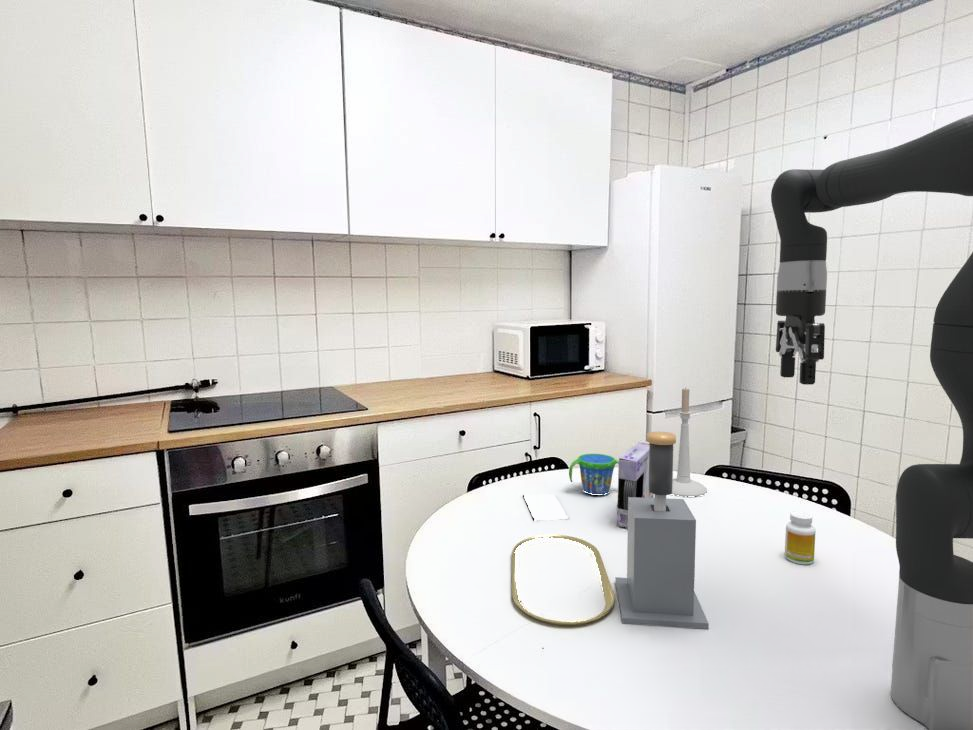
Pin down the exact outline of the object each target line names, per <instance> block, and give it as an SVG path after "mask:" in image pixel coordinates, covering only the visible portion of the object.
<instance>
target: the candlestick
mask: <svg viewBox="0 0 973 730" xmlns="http://www.w3.org/2000/svg"><path fill="white" fill-rule="evenodd" d="M678 413H679V418H680V419H681V423H680V437H679V450H678V461H677V463H678V464H677V474H676V478H673V485H672V494H674V495H679V496H700V495H704V494H705V493H707V494H708V488H707V487H706V486H705V485H704V484H702V483H700V482H699V481H696V480H694V479H691V467H690V461H691V460H690V435H689V433H690V431H689V429H690V428H689V426H690V425H689V420H690V418H691V414H692V411H690V388H687V387H685V388H681V410H679V411H678ZM704 496H705V495H704ZM700 497H701V496H700Z"/></svg>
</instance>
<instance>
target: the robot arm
mask: <svg viewBox="0 0 973 730" xmlns="http://www.w3.org/2000/svg"><path fill="white" fill-rule="evenodd" d="M912 192H921V193H923V192H924V193H925V192H926V193H939V194H940V193H944V194H955V195H960V196H964V197H973V113H972V114H971V115H967V116H964V117H962V118H960V119H957V120H955V121H952V122H950V123H948V124H945V125H944V126H941V127H939V128H937V129H934V130H933V131H931V132H928V133H926V134H925V135H923V136H920V137H917V138H915V139H913V140H911V141H908V142H904V143H902V144H899V145H897V146H893V147H891V148H887V149H883V150H880V151H876V152H872V153H868V154H867V153H866V154H863V155H859V156H855V157H852V158H851V157H850V158H846V159H843V160H840V161H836V162H834V163H832V164H830V165H828V166H826V167H825V168H824V169H798V168H797V169H796V168H795V169H793V168H792V169H789V170H785V171H783V172H782V173H780V174H779V175H778V177H777V178H776V179H775V181H774V183H773V185H772V189H771V193H770V201H771V206H772V211H773V215H774V219H775V223H776V227H777V231H778V235H779V240H780V243H779V244H780V245H779V246H780V249H779V263H778V265H779V267H778V271H777V278H776V299H775V314H776V315H777V316H779V317H785V319H784V320H778V321H777V324H776V341H775V352H776V353H778V356H779V357H780V369H779V370H780V372H779V373H780V374H779V375H780V377H782V378H794V376H795V373H796V372H795V370H796V355H797V353H798V356H799V359H800V362H799V363H800V364H799V379H798V380H799V384H801V385H805V386H806V385H814V384H816V371H817V370H816V369H817V366H816V365H817V363H818V362H819V361H821V360H822V361H823V360H824V359H825V339H826V338H825V334H826V333H825V332H826V331H825V329H826V326H825V325H826V324H825V323H823V322H821V323H819V322H816V320H815V318H816V317H819V316H820V317H821V316H824V315H825V313H826V302H827V283H828V282H827V281H828V270H827V269H828V267H827V253H828V252H827V251H828V232H827V230H826V229H825V227H822V226H819V225H815V224H812V223H810V222H809V221H808V217H807V216H806V213H810V214H811V213H825V212H826V213H827V212H832V211H834V210H838V209H841V208H844V207H845V208H846V207H847V208H848V207H853V206H854V207H855V206H860V205H866V204H867V205H868V204H872V203H877V202H880V201H884V200H886V199H888V198H891V197H892V196H895V195H896V194H897V195H898V194H903V193H912ZM930 341H931V342H930V350H929V351H930V352H929V360H930V364H931V367H932V370H933V374H934V375H935V377H936V379H937V381H938V383H939V384H940V386H941V388H942V389H943V391H944V393H945V394H946V395H947V397H948V398H949V400H950V402H951V404H952V405H953V406H954V409H955V410H956V413H957V414H958V417H959V420H960V422H961V427H962V438H963V439H962V451H961V452H962V453H961V456H960V457H961V458H960V461H959V463H921V464H920V463H919V464H918V463H917V464H912V465H910V466H908V467H907V468H905V469H904V470H903V471H902V473H901V474H900V477H899V479H898V481H897V482H898V483H897V486H896V496H895V497H896V498H895V548H896V556H897V558H898V559H897V560H898V564H899V565H898V566H899V569H898V570H899V572H898V573H899V574H898V587H897V588H898V589H897V590H898V591H897V599H896V600H897V602H896V614H895V627H894V642H893V653H892V669H891V670H892V671H891V683H890V684H891V685H890V696H891V697H890V698H892V700H893V702H894V703H895V705H896V706H897V707H898V708H899V709H900V710H901V711H903V712H904V713H905V714H906V715H908V716H909V717H911V718H912V719H914V720H916V721H917V722H919V723H921V724H922V725H923V726H925V728H927V730H973V561H971V560H969V559H966V558H964V557H961V556H958V555H956V554H954V539H971V540H972V539H973V251H972V252H971V254H970V255H969V257H968V259H967V260H966V261H965V263H964V264H963V266H962V267H961V268H960V270H959V271H958V272H957V274H956V275H955V276H954V277H953V279H952V281H951V282H950V283H949V285H948V286H947V288H946V289H945V291H944V292H943V294H942V296H941V297H940V299H939V301H938V303H937V305H936V308H935V312H934V317H933V324H932V331H931V340H930Z"/></svg>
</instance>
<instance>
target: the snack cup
mask: <svg viewBox="0 0 973 730" xmlns="http://www.w3.org/2000/svg"><path fill="white" fill-rule="evenodd" d="M616 464H618V465H619V460H617V459H615V457H613V456H612V455H608V454H605V453H604V454H603V453H585V454H581V455H579V456H578V457H577V459H575V460H573V461H572V462H571V464H570V466H569V470H568V476H569V480H570V482H571V483H573V477H572V476H573V467H574V466H575V465H578V466H579V470H580V471H579V472H580V478H581V485H582V486H581V488H582V491H583V490H584V491H586V492H588V493H592V494H605V493H608V492H609V493H610V491H611V485H612V479H613V475H614V470H615V466H616ZM609 493H608V494H609Z"/></svg>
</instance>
